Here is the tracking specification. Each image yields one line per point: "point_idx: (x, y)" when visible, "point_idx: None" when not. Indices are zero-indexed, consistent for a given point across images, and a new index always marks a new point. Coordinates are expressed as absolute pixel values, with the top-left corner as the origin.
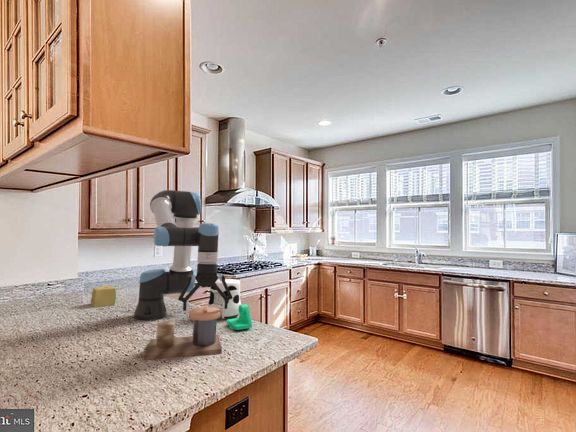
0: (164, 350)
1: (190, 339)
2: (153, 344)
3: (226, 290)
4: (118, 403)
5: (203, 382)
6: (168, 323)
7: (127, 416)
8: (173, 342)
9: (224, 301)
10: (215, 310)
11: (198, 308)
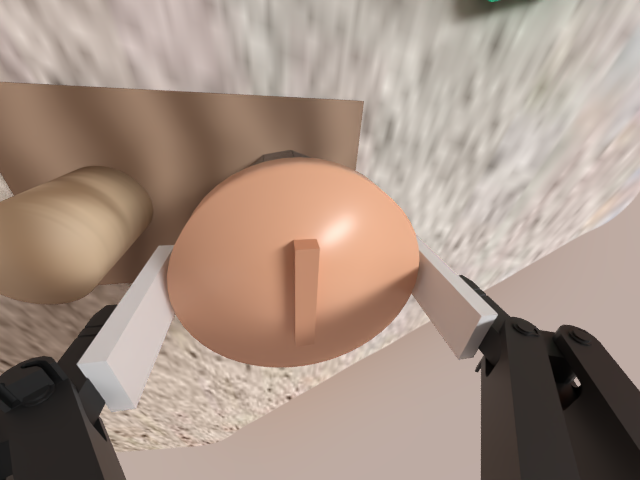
0: (134, 256)
1: (220, 146)
2: (36, 182)
3: (584, 473)
4: (142, 419)
5: (283, 374)
6: (50, 263)
7: (176, 436)
8: (148, 217)
9: (470, 357)
10: (377, 285)
11: (241, 213)
